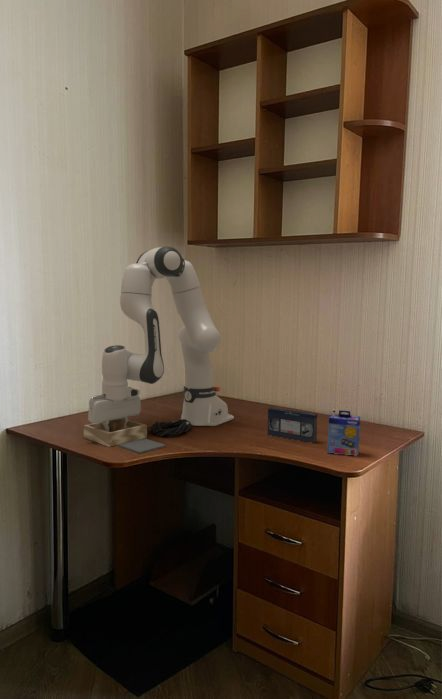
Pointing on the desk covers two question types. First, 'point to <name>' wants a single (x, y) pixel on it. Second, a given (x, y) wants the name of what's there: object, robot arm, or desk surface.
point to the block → (116, 425)
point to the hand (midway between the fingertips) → (115, 431)
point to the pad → (142, 445)
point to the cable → (180, 427)
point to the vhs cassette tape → (292, 424)
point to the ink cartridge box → (343, 434)
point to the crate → (115, 433)
